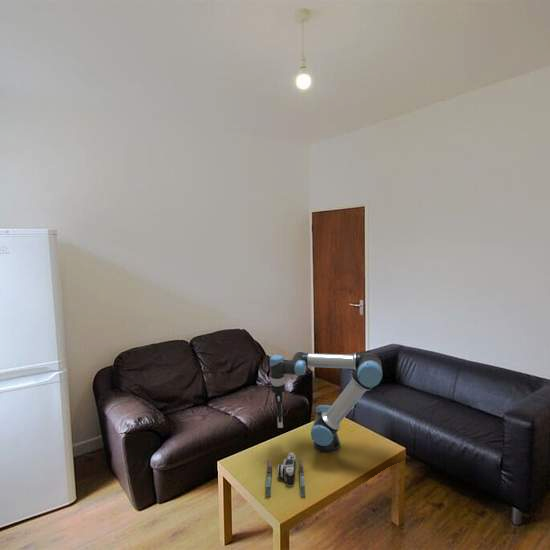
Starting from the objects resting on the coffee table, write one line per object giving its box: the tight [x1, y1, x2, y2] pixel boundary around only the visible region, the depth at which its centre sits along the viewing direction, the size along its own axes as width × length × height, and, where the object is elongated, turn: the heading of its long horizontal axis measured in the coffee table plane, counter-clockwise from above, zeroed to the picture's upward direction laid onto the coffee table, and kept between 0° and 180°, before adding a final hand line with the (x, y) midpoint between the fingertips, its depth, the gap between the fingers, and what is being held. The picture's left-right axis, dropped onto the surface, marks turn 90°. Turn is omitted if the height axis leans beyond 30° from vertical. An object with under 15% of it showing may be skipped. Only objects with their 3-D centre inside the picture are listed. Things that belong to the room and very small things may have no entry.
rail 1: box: [265, 459, 273, 498], centre depth 177 cm, size 2×20×5 cm, turn 179°
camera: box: [277, 452, 297, 487], centre depth 182 cm, size 16×9×10 cm, turn 174°
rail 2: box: [298, 459, 306, 497], centre depth 177 cm, size 2×20×5 cm, turn 179°
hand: (280, 421), depth 199 cm, fingers open, 13 cm apart
